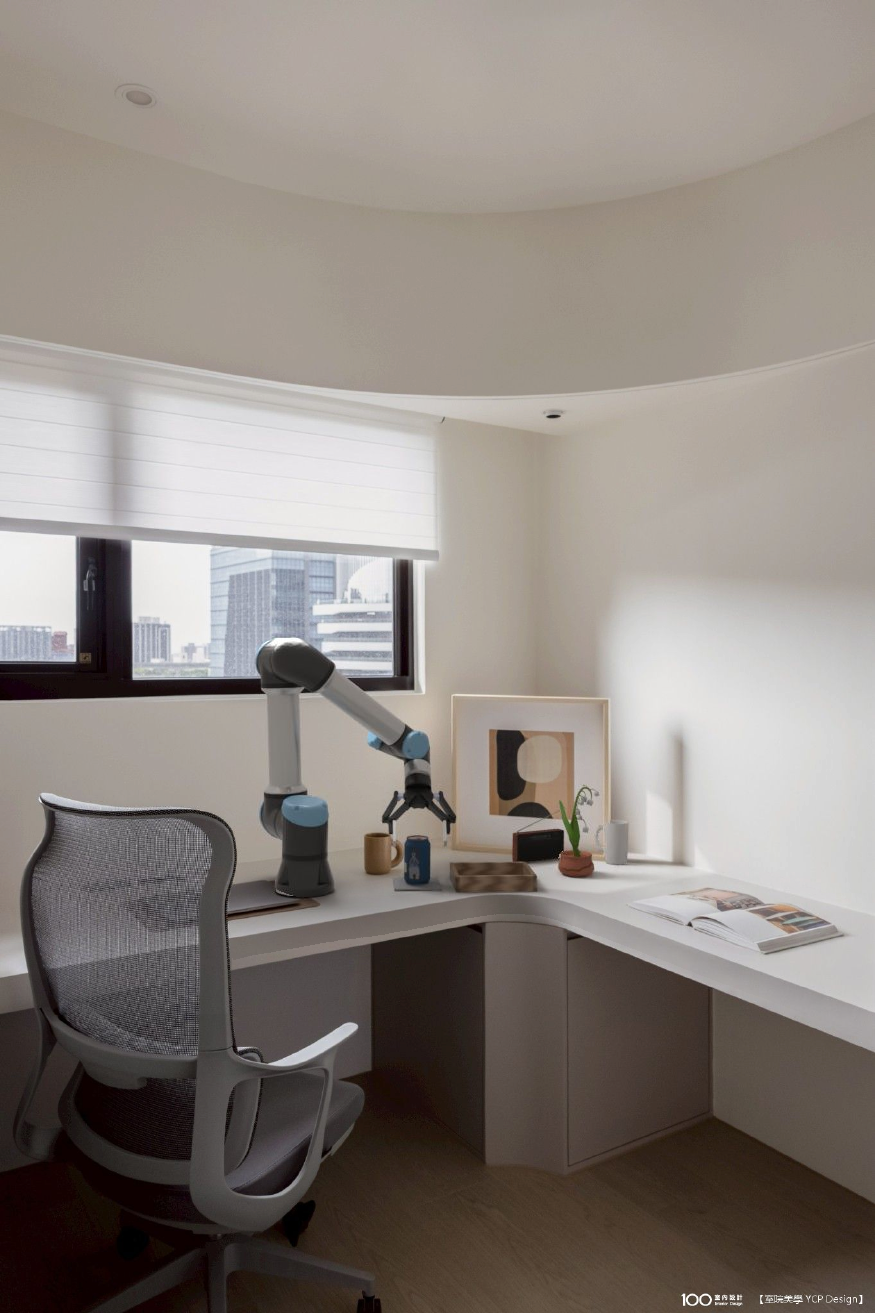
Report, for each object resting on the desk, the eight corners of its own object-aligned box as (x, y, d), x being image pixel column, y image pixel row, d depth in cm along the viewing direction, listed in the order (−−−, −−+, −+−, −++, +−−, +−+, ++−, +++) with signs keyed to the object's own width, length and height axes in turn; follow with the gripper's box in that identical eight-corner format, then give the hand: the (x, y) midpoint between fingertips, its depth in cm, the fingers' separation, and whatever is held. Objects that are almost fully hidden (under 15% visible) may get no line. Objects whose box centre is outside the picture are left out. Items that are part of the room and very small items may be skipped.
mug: (631, 861, 269) (631, 821, 269) (624, 866, 263) (624, 824, 263) (598, 857, 273) (598, 818, 273) (590, 862, 268) (591, 821, 268)
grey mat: (394, 891, 233) (394, 889, 233) (392, 879, 245) (392, 877, 245) (441, 890, 234) (441, 888, 234) (437, 879, 246) (437, 877, 246)
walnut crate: (455, 892, 232) (455, 876, 232) (449, 877, 248) (449, 862, 248) (536, 891, 234) (536, 875, 234) (525, 876, 250) (525, 861, 250)
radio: (517, 864, 265) (518, 812, 265) (512, 861, 267) (512, 811, 267) (570, 858, 273) (570, 808, 273) (564, 856, 276) (564, 806, 276)
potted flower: (589, 868, 260) (590, 781, 260) (607, 876, 250) (607, 785, 250) (551, 871, 256) (552, 782, 256) (567, 879, 246) (568, 787, 246)
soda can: (425, 878, 244) (425, 834, 244) (433, 885, 237) (434, 839, 237) (400, 880, 241) (401, 835, 241) (408, 887, 235) (408, 840, 235)
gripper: (460, 787, 261) (465, 851, 246) (373, 787, 259) (372, 851, 244) (462, 771, 255) (467, 835, 240) (373, 771, 253) (373, 835, 239)
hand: (419, 843), depth 242 cm, fingers open, 13 cm apart
